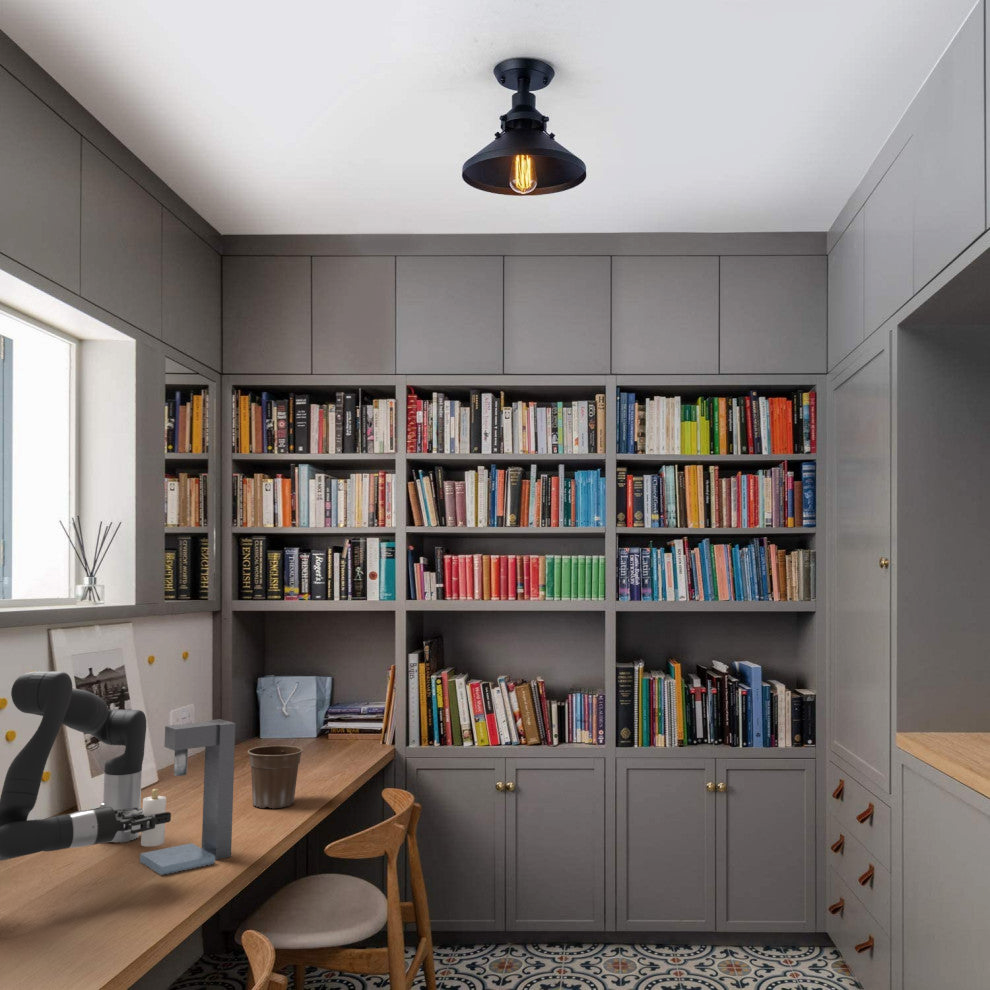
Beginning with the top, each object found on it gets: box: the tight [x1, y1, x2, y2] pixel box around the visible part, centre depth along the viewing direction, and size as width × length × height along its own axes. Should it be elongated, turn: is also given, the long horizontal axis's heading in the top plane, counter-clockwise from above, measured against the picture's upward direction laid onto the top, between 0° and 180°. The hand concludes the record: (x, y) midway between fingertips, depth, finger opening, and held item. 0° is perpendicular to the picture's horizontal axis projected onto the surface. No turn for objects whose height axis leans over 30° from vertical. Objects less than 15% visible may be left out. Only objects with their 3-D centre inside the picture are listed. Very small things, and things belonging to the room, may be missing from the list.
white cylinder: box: [140, 788, 167, 847], centre depth 211 cm, size 5×5×12 cm
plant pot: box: [247, 745, 304, 809], centre depth 277 cm, size 16×16×16 cm
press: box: [139, 718, 236, 876], centre depth 228 cm, size 18×22×32 cm
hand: (164, 814), depth 212 cm, fingers closed on white cylinder, 5 cm apart
